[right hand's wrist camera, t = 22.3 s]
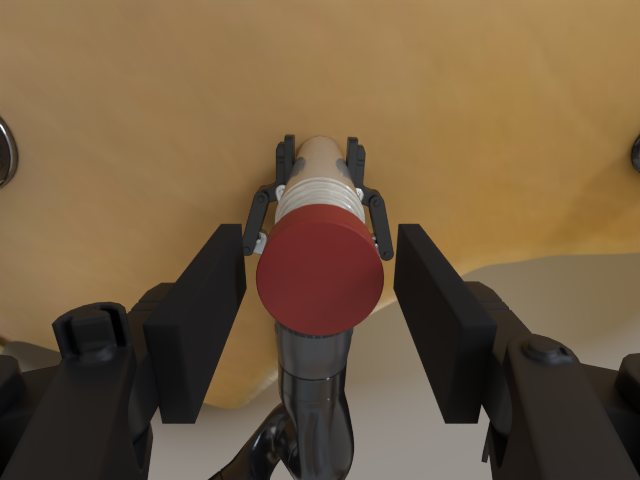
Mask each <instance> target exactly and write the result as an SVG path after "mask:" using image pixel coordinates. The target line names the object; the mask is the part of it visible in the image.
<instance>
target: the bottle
mask: <svg viewBox="0 0 640 480" xmlns="http://www.w3.org/2000/svg"><path fill="white" fill-rule="evenodd" d="M310 204H331V205H335V206H339V207H341V208H344V209H346V210H348V211H350V212H351V213H353V214H354V215H356V216H357V217H358V218H359V219H360V220H361V221H362V222H363V223H364V224H365V214H364V209H363V206H362V204H361V201H360V198H359V196H358V193H357V191H356V188H355V186H354V183H353V181H352V178H351V175H350V173H349V170H348V168H347V165H346V163H345V160H344V157H343V155H342V152H341V150H340V148H339V146H338V145H337V143H336V142H334V141H333V140H332V139H330V138H328V137H324V136H316V137H312V138H310V139H308V140H307V141H306V142H304V143H303V145H302V146H301V148H300V150H299V152H298V155H297V158H296V160H295V163H294V165H293V168H292V170H291V173H290V175H289V178H288V181H287V183H286V186H285V188H284V191H283V193H282V196H281V199H280V201H279V204H278V206H277V209H276V214H275V224H276V223H277V222H278V221H279V220H280V219H281V218H282V217H283V216H284V215H286V214H287V213H289V212H290V211H292V210H294V209H296V208H299V207H301V206H305V205H310Z"/></svg>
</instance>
